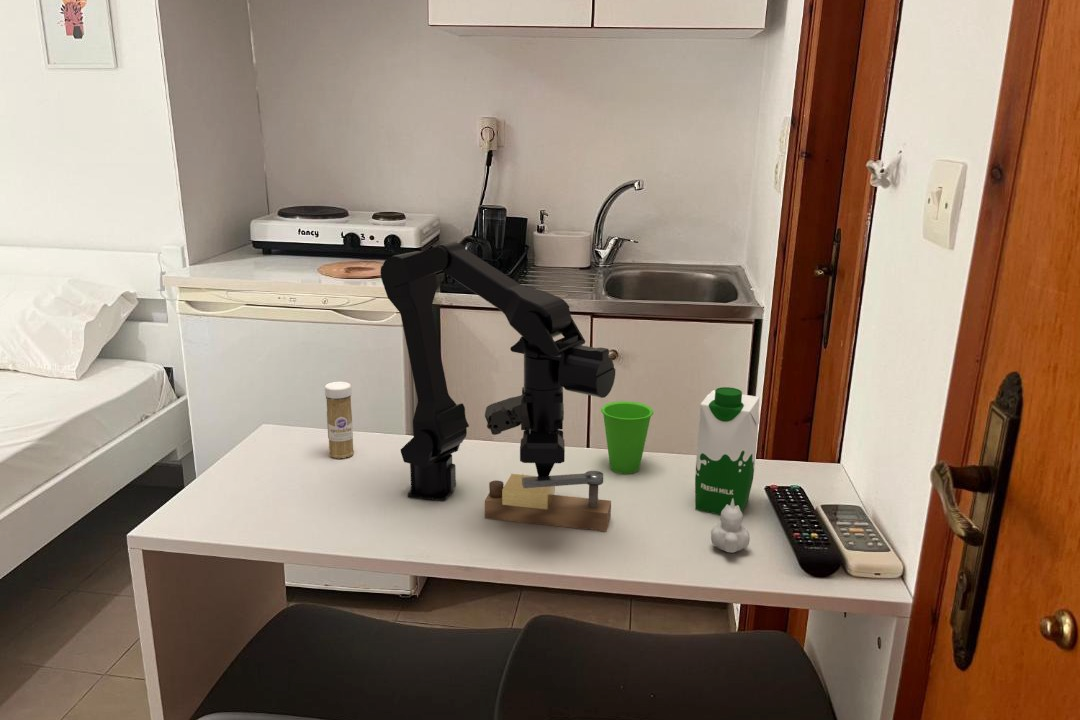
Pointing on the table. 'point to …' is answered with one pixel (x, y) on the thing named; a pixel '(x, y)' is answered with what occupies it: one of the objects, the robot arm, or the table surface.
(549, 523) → the body
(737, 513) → the white toy figurine
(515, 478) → the gold metal plate
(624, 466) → the cup
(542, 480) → the lever
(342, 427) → the sprinkles bottle
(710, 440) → the milk carton
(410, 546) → the table surface
